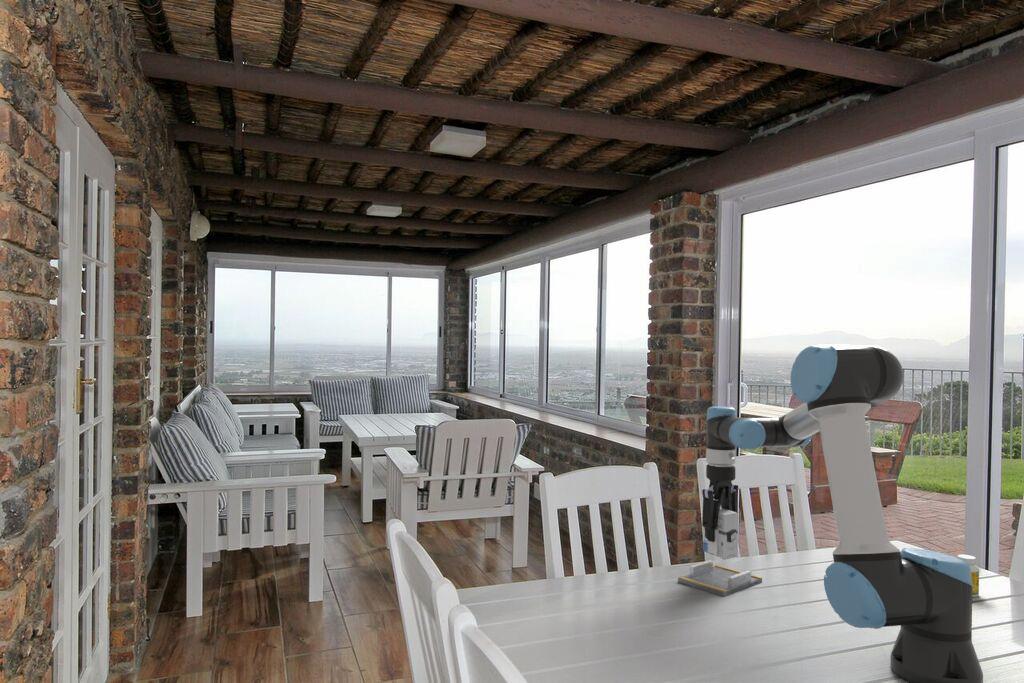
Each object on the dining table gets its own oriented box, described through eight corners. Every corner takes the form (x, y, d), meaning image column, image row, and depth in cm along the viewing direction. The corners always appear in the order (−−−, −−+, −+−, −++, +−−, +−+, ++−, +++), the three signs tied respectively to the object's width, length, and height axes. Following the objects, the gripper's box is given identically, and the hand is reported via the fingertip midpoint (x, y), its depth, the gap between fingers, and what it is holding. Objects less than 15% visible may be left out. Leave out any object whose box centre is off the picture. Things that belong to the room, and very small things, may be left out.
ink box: (701, 551, 190) (702, 507, 190) (716, 549, 192) (716, 506, 192) (723, 559, 182) (724, 514, 182) (738, 557, 184) (738, 512, 184)
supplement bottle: (952, 589, 183) (952, 552, 183) (976, 592, 181) (976, 555, 181) (956, 595, 178) (956, 558, 178) (981, 599, 176) (981, 560, 176)
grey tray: (723, 596, 175) (724, 582, 176) (677, 582, 186) (677, 568, 186) (762, 581, 187) (762, 568, 187) (716, 569, 198) (716, 556, 198)
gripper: (712, 470, 178) (711, 561, 178) (752, 462, 190) (751, 548, 190) (687, 466, 184) (687, 554, 184) (728, 459, 196) (727, 542, 196)
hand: (720, 550), depth 187 cm, fingers closed on ink box, 6 cm apart
